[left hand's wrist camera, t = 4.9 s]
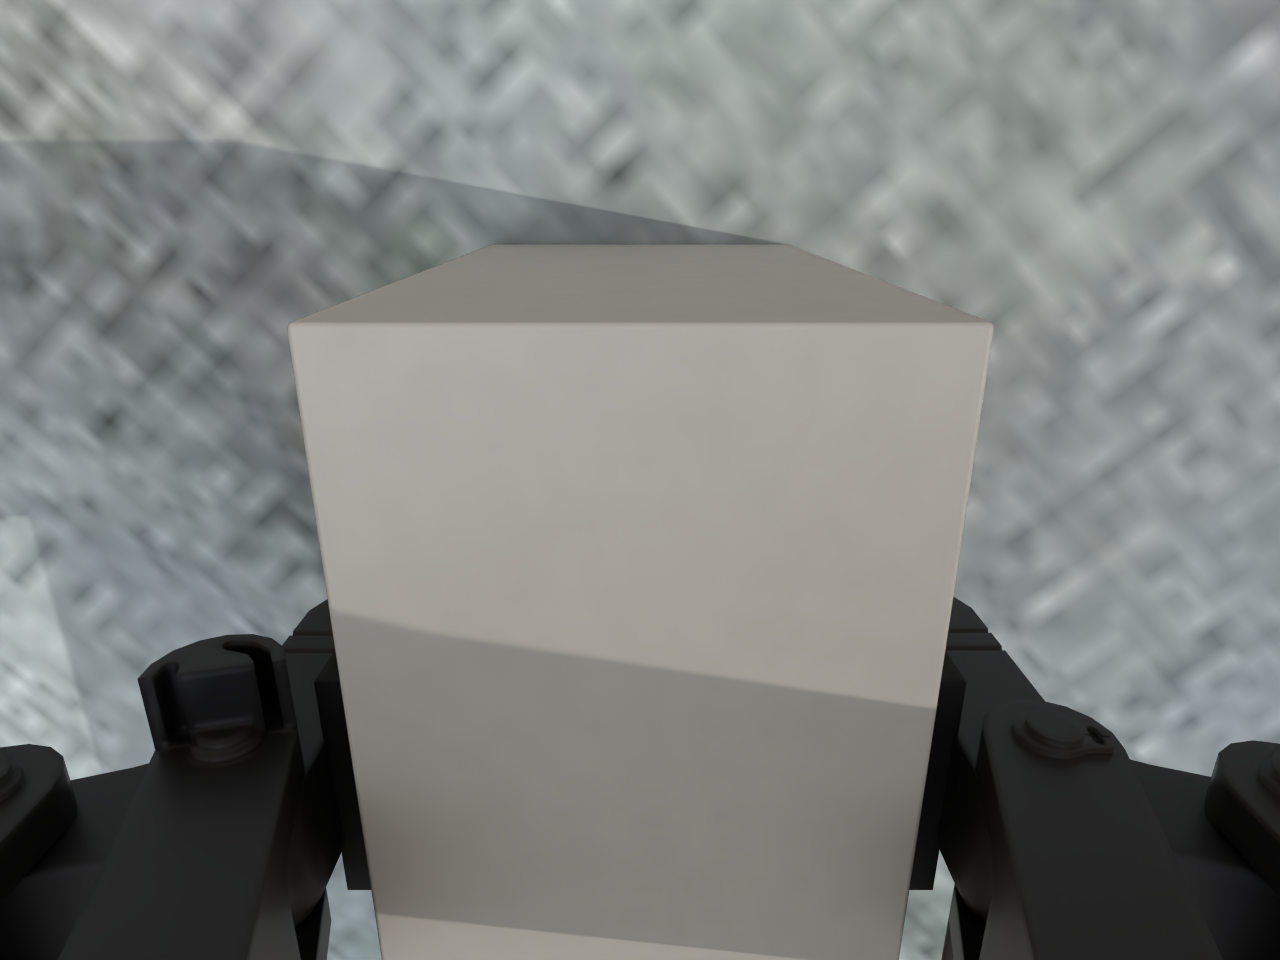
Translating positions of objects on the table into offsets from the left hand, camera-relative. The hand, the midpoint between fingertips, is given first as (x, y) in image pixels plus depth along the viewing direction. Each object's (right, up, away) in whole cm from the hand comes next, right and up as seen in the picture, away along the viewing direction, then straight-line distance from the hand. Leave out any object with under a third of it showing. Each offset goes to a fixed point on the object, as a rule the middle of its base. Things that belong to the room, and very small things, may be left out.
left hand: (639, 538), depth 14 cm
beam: (0, -27, +10) cm, 29 cm away
